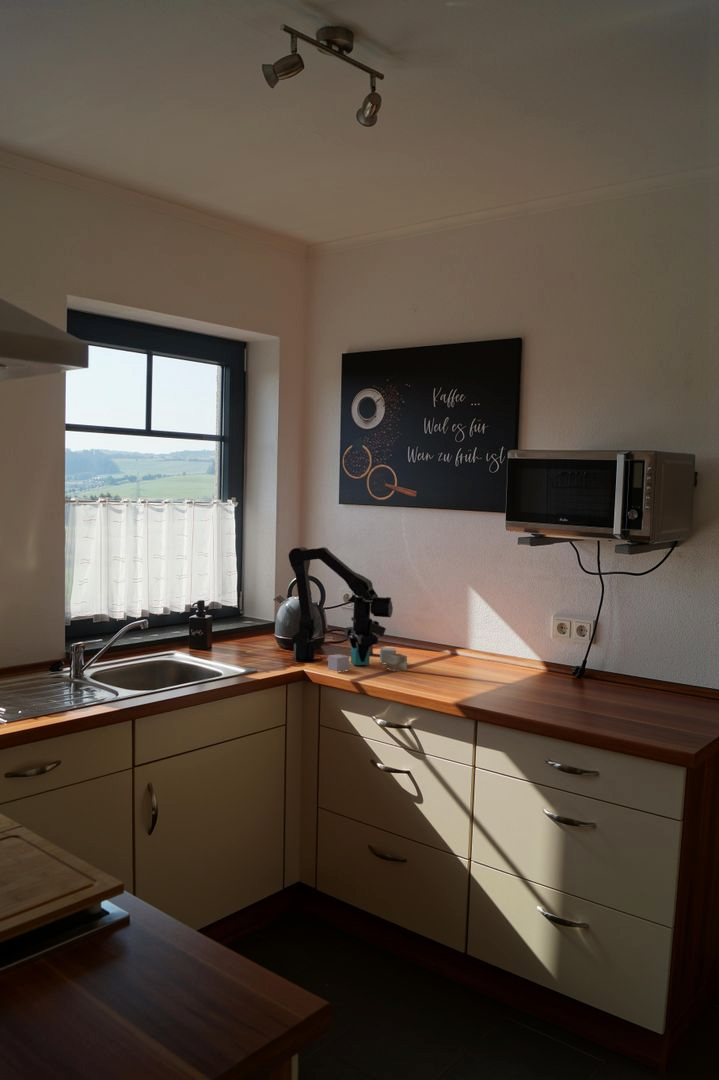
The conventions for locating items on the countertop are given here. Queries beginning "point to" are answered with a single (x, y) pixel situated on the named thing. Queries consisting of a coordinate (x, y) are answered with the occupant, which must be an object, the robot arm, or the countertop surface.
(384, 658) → the grey cube
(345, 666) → the lilac cube
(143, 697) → the countertop surface
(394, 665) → the grey-green cube
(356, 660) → the teal cube
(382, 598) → the robot arm
